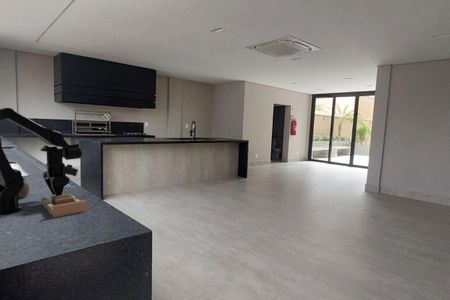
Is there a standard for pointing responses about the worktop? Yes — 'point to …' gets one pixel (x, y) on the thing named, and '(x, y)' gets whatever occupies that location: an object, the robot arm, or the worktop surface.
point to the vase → (24, 191)
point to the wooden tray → (48, 204)
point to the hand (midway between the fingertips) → (56, 196)
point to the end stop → (69, 208)
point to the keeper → (61, 199)
